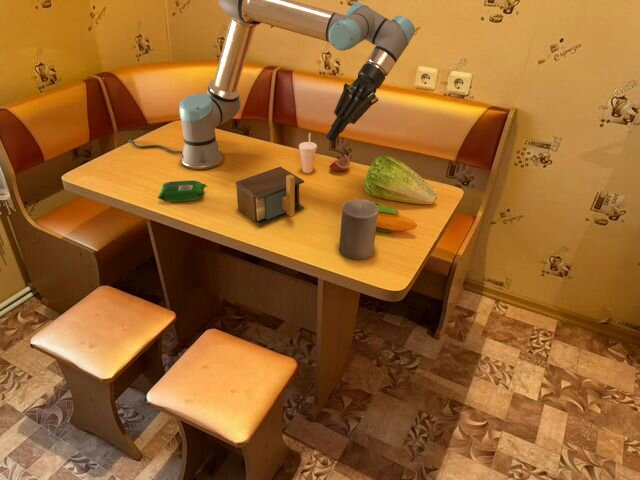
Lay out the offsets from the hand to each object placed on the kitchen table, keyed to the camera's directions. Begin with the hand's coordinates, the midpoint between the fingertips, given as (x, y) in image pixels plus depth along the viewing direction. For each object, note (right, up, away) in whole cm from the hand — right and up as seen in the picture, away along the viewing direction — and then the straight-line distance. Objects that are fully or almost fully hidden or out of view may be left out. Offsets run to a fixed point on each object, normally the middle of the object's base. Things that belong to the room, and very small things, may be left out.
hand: (329, 139), depth 147 cm
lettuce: (+24, -16, +15) cm, 33 cm away
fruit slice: (+7, -3, +32) cm, 33 cm away
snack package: (-47, -15, +18) cm, 52 cm away
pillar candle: (+7, -33, -7) cm, 34 cm away
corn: (+16, -26, +2) cm, 31 cm away
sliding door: (-14, -23, +5) cm, 27 cm away
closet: (-18, -19, +12) cm, 29 cm away
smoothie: (-5, -3, +33) cm, 33 cm away
